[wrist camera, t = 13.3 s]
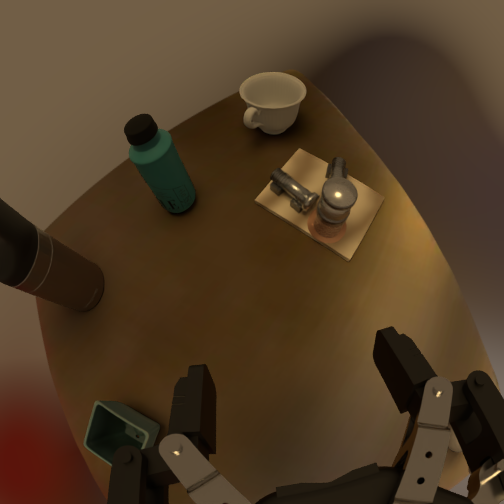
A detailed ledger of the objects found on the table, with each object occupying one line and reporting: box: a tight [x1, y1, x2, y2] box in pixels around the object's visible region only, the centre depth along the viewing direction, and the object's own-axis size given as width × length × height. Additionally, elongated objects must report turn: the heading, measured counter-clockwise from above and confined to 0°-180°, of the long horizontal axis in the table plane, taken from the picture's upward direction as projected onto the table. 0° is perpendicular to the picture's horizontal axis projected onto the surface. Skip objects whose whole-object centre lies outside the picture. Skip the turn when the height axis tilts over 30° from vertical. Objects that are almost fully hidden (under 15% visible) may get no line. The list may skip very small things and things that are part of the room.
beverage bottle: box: [124, 114, 196, 213], centre depth 38 cm, size 6×7×20 cm
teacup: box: [240, 72, 306, 134], centre depth 47 cm, size 12×15×10 cm
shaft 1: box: [270, 168, 320, 213], centre depth 43 cm, size 8×4×4 cm, turn 43°
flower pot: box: [84, 401, 160, 466], centre depth 30 cm, size 9×9×9 cm
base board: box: [255, 148, 385, 262], centre depth 45 cm, size 18×14×1 cm
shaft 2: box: [325, 157, 348, 179], centre depth 43 cm, size 8×4×4 cm, turn 163°
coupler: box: [314, 177, 358, 238], centre depth 38 cm, size 5×5×10 cm
